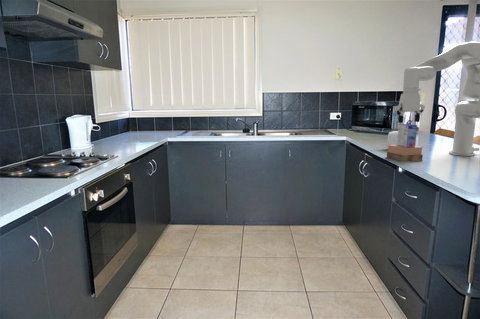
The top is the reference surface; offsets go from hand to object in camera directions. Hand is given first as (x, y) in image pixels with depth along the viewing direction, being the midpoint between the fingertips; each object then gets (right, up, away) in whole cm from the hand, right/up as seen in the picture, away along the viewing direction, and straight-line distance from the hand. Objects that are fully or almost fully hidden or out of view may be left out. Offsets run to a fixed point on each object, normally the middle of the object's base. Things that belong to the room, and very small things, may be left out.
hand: (408, 122), depth 174 cm
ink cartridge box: (0, -13, +3) cm, 14 cm away
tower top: (-1, -17, +3) cm, 18 cm away
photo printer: (+10, -14, +36) cm, 40 cm away
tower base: (-1, -21, +4) cm, 22 cm away
